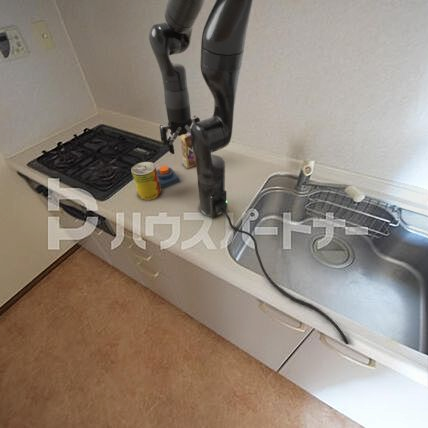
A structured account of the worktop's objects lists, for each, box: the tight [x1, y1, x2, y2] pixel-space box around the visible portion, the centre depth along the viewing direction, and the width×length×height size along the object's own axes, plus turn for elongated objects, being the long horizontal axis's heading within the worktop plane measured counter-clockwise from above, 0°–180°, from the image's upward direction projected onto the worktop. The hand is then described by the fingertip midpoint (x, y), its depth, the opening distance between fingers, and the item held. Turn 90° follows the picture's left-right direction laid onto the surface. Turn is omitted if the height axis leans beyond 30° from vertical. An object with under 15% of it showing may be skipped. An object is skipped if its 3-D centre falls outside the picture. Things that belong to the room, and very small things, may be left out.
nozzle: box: [158, 165, 170, 175], centre depth 100 cm, size 4×4×2 cm
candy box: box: [179, 132, 196, 169], centre depth 105 cm, size 9×4×15 cm, turn 124°
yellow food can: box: [130, 160, 162, 201], centre depth 93 cm, size 9×9×12 cm
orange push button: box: [156, 167, 180, 189], centre depth 102 cm, size 10×8×4 cm
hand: (183, 149), depth 86 cm, fingers open, 8 cm apart
